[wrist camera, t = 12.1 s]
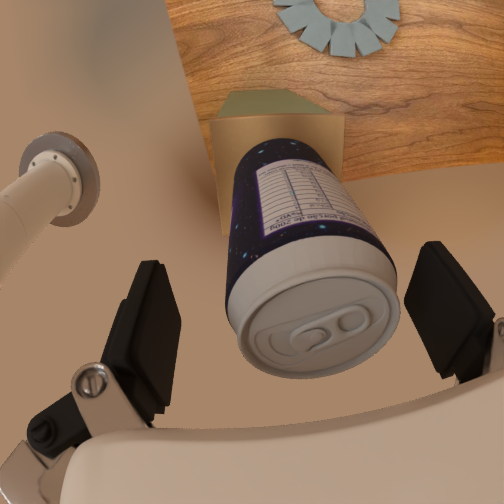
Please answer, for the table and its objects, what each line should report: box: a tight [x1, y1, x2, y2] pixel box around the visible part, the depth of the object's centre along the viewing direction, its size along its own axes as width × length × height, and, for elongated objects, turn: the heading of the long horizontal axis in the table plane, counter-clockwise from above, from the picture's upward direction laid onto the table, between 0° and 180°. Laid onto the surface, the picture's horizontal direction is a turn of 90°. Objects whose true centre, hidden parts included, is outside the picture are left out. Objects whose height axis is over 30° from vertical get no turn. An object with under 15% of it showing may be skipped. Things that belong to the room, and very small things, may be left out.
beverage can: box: [225, 138, 400, 379], centre depth 13 cm, size 6×6×12 cm
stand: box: [209, 89, 345, 236], centre depth 28 cm, size 8×8×24 cm
